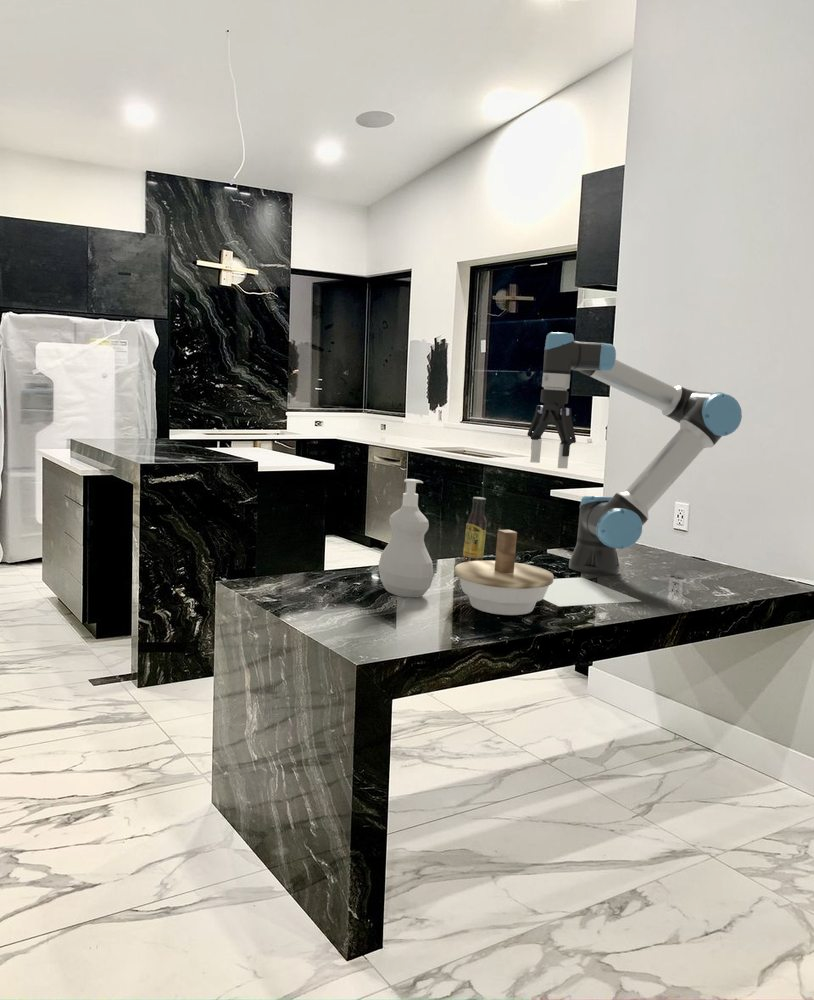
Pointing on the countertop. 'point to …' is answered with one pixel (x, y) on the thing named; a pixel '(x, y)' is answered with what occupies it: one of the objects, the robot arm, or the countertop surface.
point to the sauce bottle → (475, 531)
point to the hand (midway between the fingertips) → (548, 465)
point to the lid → (504, 568)
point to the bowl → (502, 598)
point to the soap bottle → (407, 549)
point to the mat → (582, 593)
